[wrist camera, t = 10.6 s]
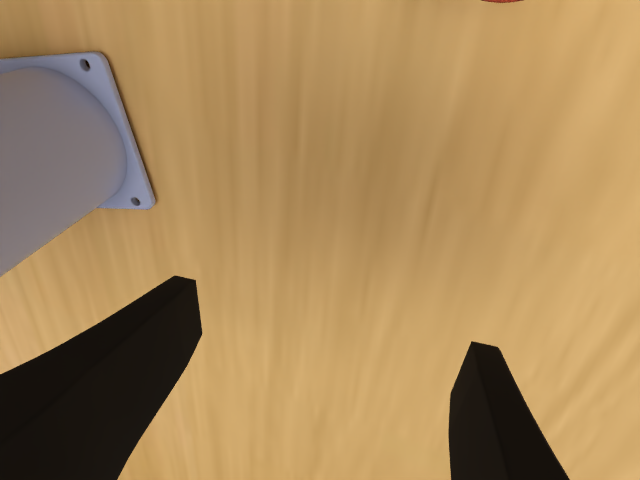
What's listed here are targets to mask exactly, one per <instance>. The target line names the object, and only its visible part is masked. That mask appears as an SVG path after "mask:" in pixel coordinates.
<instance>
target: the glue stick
mask: <svg viewBox="0 0 640 480" xmlns="http://www.w3.org/2000/svg"><path fill="white" fill-rule="evenodd" d="M482 1H488V2H496V3H507V2H516V1H522V0H482Z"/></svg>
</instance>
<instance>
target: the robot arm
mask: <svg viewBox="0 0 640 480" xmlns="http://www.w3.org/2000/svg"><path fill="white" fill-rule="evenodd" d="M85 60H86V61H88V63H89V64H90V68H89V67H88V66H87V65H86V61H85ZM136 198H137V199H138V200H139V201H140V202H139V201H137V200H136ZM154 205H155V197H154V194H153V192H152V189H151V186H150V183H149V180H148V177H147V174H146V171H145V168H144V165H143V162H142V159H141V157H140V154H139V151H138V148H137V145H136V142H135V139H134V136H133V133H132V130H131V127H130V124H129V122H128V119H127V116H126V113H125V110H124V107H123V104H122V101H121V98H120V95H119V92H118V89H117V87H116V84H115V81H114V78H113V75H112V72H111V69H110V66H109V63H108V61H107V59H106V57H105V56H104V55H103V54H101V53H100V52H97V51H91V52H79V53H66V54H54V55H41V56H29V57H16V58H4V59H0V277H1V276H2V275H4V274H5V273H6V272H8V271H9V270H11V269H12V268H13V267H15V266H16V265H18V264H19V263H20V262H22V261H23V260H24V259H26V258H27V257H29V256H30V255H31V254H33V253H34V252H36V251H37V250H38V249H40V248H41V247H43V246H44V245H45V244H47V243H48V242H49V241H51V240H52V239H54V238H55V237H56V236H58V235H59V234H61V233H62V232H63V231H65V230H66V229H67V228H69V227H70V226H72V225H73V224H74V223H76V222H77V221H79V220H80V219H81V218H83V217H84V216H85V215H87V214H88V213H90V212H91V211H92V210H94V209H95V208H115V209H150V208H151V207H153V206H154ZM201 335H202V327H201V319H200V311H199V303H198V295H197V287H196V280H193V279H188V278H184V277H179V276H173V277H172V278H170V279H168V280H167V281H165V282H163V283H162V284H160V285H159V286H157V287H156V288H154V289H152V290H151V291H149V292H148V293H146V294H145V295H143V296H142V297H140V298H138V299H137V300H135V301H134V302H132V303H131V304H129V305H127V306H126V307H124V308H122V309H121V310H119V311H118V312H116V313H114V314H113V315H111V316H110V317H108V318H106V319H105V320H103V321H101V322H100V323H98V324H96V325H95V326H93V327H91V328H89V329H87V330H86V331H84V332H82V333H80V334H79V335H77V336H75V337H73V338H72V339H70V340H68V341H66V342H65V343H63V344H61V345H59V346H57V347H55V348H54V349H52V350H50V351H48V352H46V353H44V354H42V355H40V356H38V357H36V358H34V359H32V360H30V361H28V362H26V363H24V364H22V365H19V366H17V367H15V368H13V369H11V370H9V371H7V372H5V373H2V374H0V480H117V479H118V477H119V475H120V473H121V471H122V469H123V467H124V466H125V464H126V462H127V460H128V458H129V456H130V455H131V453H132V451H133V450H134V448H135V446H136V445H137V443H138V441H139V440H140V438H141V437H142V435H143V433H144V432H145V430H146V429H147V427H148V426H149V424H150V423H151V421H152V420H153V418H154V417H155V415H156V413H157V412H158V410H159V409H160V407H161V406H162V404H163V403H164V401H165V400H166V398H167V397H168V395H169V394H170V392H171V390H172V389H173V387H174V386H175V384H176V383H177V381H178V379H179V378H180V376H181V375H182V373H183V372H184V370H185V368H186V367H187V365H188V363H189V361H190V359H191V357H192V355H193V353H194V351H195V348H196V346H197V344H198V342H199V340H200V338H201ZM449 452H450V468H451V480H570V479H569V478H568V476H567V474H566V473H565V471H564V469H563V468H562V466H561V465H560V463H559V461H558V460H557V458H556V456H555V455H554V453H553V451H552V449H551V448H550V446H549V444H548V443H547V441H546V439H545V437H544V435H543V434H542V432H541V430H540V428H539V426H538V424H537V423H536V421H535V419H534V417H533V415H532V414H531V412H530V410H529V408H528V406H527V404H526V402H525V400H524V398H523V396H522V394H521V392H520V390H519V388H518V386H517V384H516V382H515V380H514V378H513V376H512V374H511V372H510V370H509V368H508V366H507V364H506V361H505V359H504V357H503V355H502V353H501V351H500V350H499V348H498V347H495V346H491V345H486V344H482V343H477V342H473V341H471V344H470V346H469V349H468V351H467V354H466V356H465V359H464V361H463V364H462V366H461V369H460V371H459V374H458V376H457V379H456V381H455V384H454V386H453V389H452V391H451V396H450V413H449Z"/></svg>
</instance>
